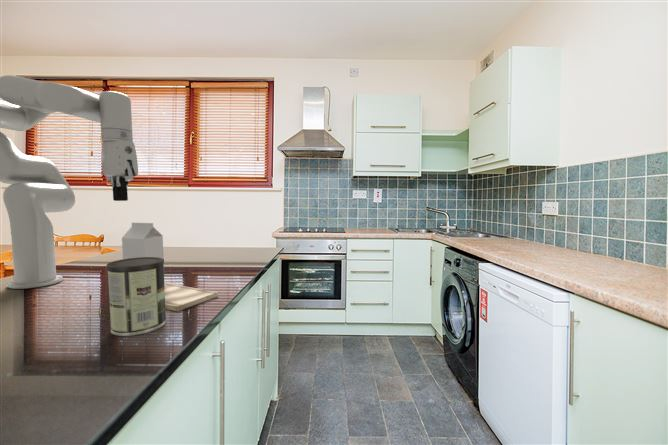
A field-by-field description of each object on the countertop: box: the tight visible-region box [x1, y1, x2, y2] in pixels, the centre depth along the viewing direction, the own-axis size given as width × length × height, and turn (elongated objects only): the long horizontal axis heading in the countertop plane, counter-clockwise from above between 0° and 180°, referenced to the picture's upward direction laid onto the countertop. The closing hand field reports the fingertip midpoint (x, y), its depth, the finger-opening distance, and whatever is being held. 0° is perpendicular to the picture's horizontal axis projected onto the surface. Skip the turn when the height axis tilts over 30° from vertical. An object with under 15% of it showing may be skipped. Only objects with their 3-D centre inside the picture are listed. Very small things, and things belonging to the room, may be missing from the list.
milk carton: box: [121, 222, 165, 260], centre depth 90 cm, size 7×7×19 cm
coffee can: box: [105, 257, 167, 337], centre depth 67 cm, size 10×10×14 cm
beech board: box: [164, 282, 219, 312], centre depth 87 cm, size 24×13×1 cm, turn 65°
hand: (120, 200), depth 93 cm, fingers closed
